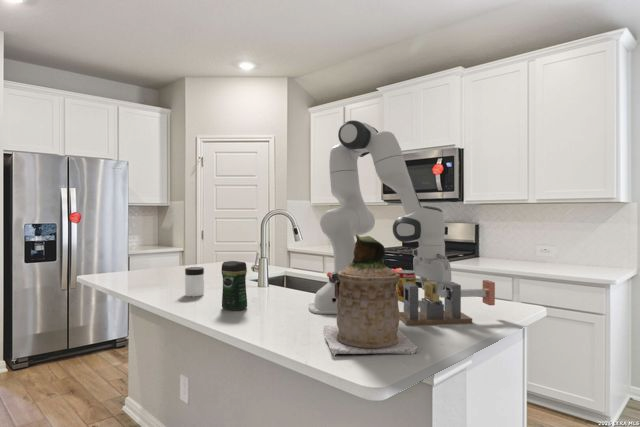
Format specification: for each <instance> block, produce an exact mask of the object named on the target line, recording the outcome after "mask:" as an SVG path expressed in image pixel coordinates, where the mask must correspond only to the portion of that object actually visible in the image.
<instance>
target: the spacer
mask: <svg viewBox="0 0 640 427" xmlns="http://www.w3.org/2000/svg"><path fill="white" fill-rule="evenodd" d="M437 286H438V285H437V282H435V281H432V280H426V281H424V292H423V294H424V295H423V296H424V297H423V298H425V299H427V300H430V301H432V302H437V301H439V300H440V297H439V295H436V294H435V290H437Z"/></svg>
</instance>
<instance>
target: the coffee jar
mask: <svg viewBox="0 0 640 427" xmlns="http://www.w3.org/2000/svg"><path fill="white" fill-rule="evenodd" d="M220 272H221V276H222V294H221V296H222V297H221V307H222V309H223V310H228V311H241V310H245V309H246V308H248V298H247V297H248V296H247V284H246V277H247V273H248V268H247V263H246V262H245V261H239V260H237V261H236V260H228V261H223V262H222V263H221V271H220Z"/></svg>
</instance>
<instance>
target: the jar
mask: <svg viewBox="0 0 640 427" xmlns="http://www.w3.org/2000/svg"><path fill="white" fill-rule="evenodd" d="M184 271H185V272H184V273H185V277H184V282H185V283H184V285H185V286H184V288H185V289H184V290H185V291H184V292H185V294H184V295H185V296H184V297H191V296H192V297H195V296H196V297H201V296H204V295H205V268H204V267H202V266H193V267H186V268H185V269H184ZM196 297H195V298H196Z"/></svg>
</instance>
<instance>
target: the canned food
mask: <svg viewBox="0 0 640 427" xmlns="http://www.w3.org/2000/svg"><path fill="white" fill-rule="evenodd" d="M396 273H398V274H399V275H400V279H399V281H398V282H397V294H398V302H404V283H413V284H415V285H417V283H416V282H417V281H416V280H417V279H416V277H417V275H415V273H414V270H412V269H400V270H399V269H398V270H396Z"/></svg>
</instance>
